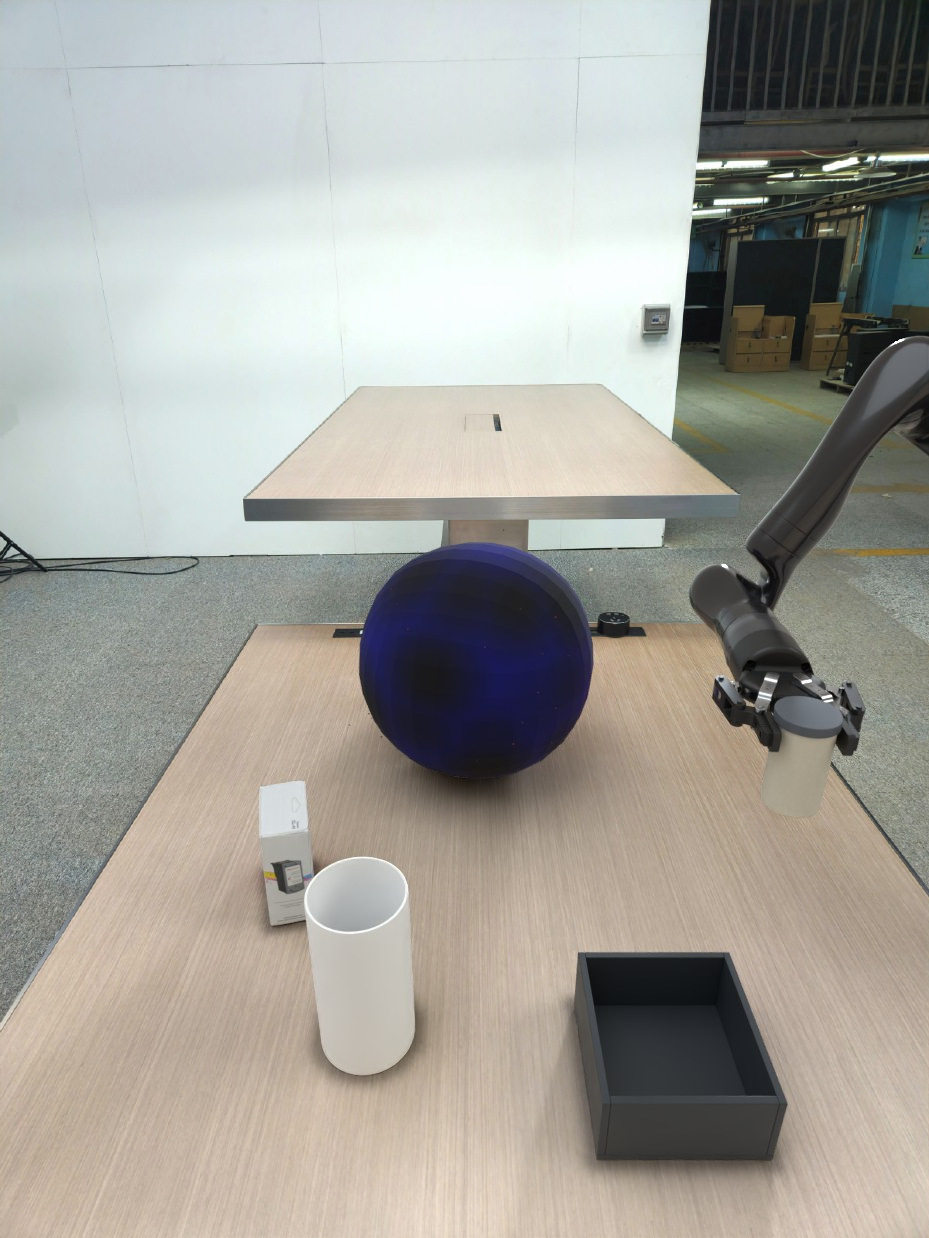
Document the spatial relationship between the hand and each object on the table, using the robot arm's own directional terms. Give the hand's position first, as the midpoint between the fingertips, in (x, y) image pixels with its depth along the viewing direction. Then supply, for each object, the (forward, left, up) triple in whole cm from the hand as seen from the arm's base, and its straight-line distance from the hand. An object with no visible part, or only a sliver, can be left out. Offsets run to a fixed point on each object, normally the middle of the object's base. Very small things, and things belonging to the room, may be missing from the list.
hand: (813, 745), depth 67 cm
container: (0, -2, -8) cm, 8 cm away
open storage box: (+15, +16, -22) cm, 31 cm away
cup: (+40, +12, -22) cm, 47 cm away
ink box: (+50, -4, -22) cm, 55 cm away
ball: (+32, -31, -22) cm, 50 cm away
